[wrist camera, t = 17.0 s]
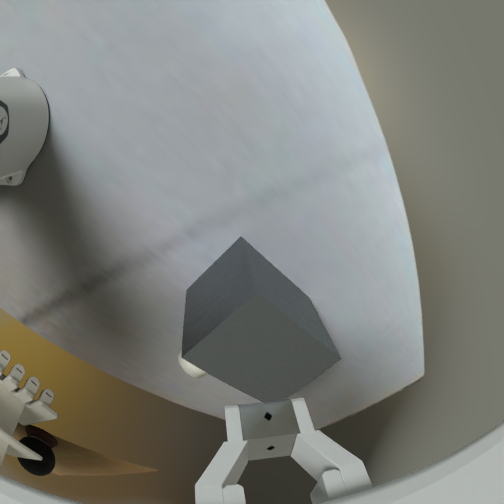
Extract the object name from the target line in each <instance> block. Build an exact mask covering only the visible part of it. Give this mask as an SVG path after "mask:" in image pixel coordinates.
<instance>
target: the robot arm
mask: <svg viewBox="0 0 504 504" xmlns="http://www.w3.org/2000/svg"><path fill="white" fill-rule="evenodd" d="M48 123H49V111H48V104H47V100H46V97H45V95H44V93H43V91H42V90H41V88H40V87H39V86H38V85H37V84H35V83H34V82H32V81H30V80H28V79H26V78H25V77H24V75H23V73H22V72H21V70H20V69H19V68H11V69H10V70H8V71H7V72H5V73H4V74H2V75H0V185H11V186H16V185H20V184H21V183H22V182H23V180H24V177H25V174H26V171H27V168H28V167H29V165H30V164H31V163H32V161H33V160H34V159H35V158H36V156H37V155H38V153H39V152H40V150H41V148H42V146H43V143H44V141H45V138H46V134H47V130H48ZM11 176H12V179H11ZM225 416H226V427H227V437H228V442H224V443H223V444H222V446H221V448H220V449H219V451H218V452H217V454H216V455H215V457H214V458H213V460H212V461H211V463H210V464H209V466H208V467H207V469H206V470H205V472H204V473H203V474H202V476H201V477H200V479H199V480H198V482H197V483H196V485H195V499H196V504H246V502H245V496H244V490H243V487H242V486H240V485H236V483H237V481H238V480H239V478H240V476H241V474H242V472H243V470H244V468H245V466H246V465H247V463H248V461H249V460H256V459H265V458H273V457H281V456H289V455H291V457H292V458H294V460H295V461H297V462H298V463H299V464H300V465H301V466H302V467H303V468H304V469H305V470H306V471H307V472H308V473H309V474H310V475H311V476H312V477H314V478H315V479H316V480H317V481H318V483H317V485H316V486H315V488H314V490H313V491H312V493H311V494H310V496H311V500H312V503H313V504H504V421H502V422H501V423H500V424H498V425H497V426H495V427H494V428H493V429H491V430H489V431H488V432H486V433H485V434H483V435H482V436H480V437H478V438H477V439H475V440H474V441H472V442H470V443H469V444H467V445H465V446H464V447H462V448H460V449H459V450H457V451H455V452H453V453H451V454H449V455H447V456H446V457H444V458H442V459H440V460H438V461H436V462H434V463H432V464H430V465H428V466H425V467H423V468H421V469H419V470H417V471H415V472H412V473H410V474H408V475H405V476H403V477H401V478H398V479H395V480H393V481H390V482H388V483H385V484H382V485H380V486H377V487H374V488H373V487H372V484H371V482H370V479H369V477H368V474H367V472H366V469H365V467H364V465H363V462H362V461H361V460H360V459H358V458H357V457H355V456H354V455H353V454H351V453H350V452H348V451H347V450H345V449H344V448H342V447H341V446H340V445H338V444H337V443H336V442H334V441H333V440H331V439H330V438H329V437H327V436H326V435H324V434H323V433H322V432H321V431H319V430H316V431H315V429H314V426H313V423H312V420H311V417H310V414H309V411H308V408H307V405H306V402H305V399H304V398H303V397H301V398H295V399H286V400H279V401H271V402H264V403H255V404H241V405H225ZM0 504H84V503H80V502H76V501H72V500H69V499H65V498H61V497H58V496H55V495H52V494H48V493H45V492H42V491H39V490H37V489H34V488H31V487H28V486H26V485H23V484H21V483H18V482H16V481H13V480H11V479H8V478H6V477H4V476H1V475H0Z"/></svg>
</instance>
